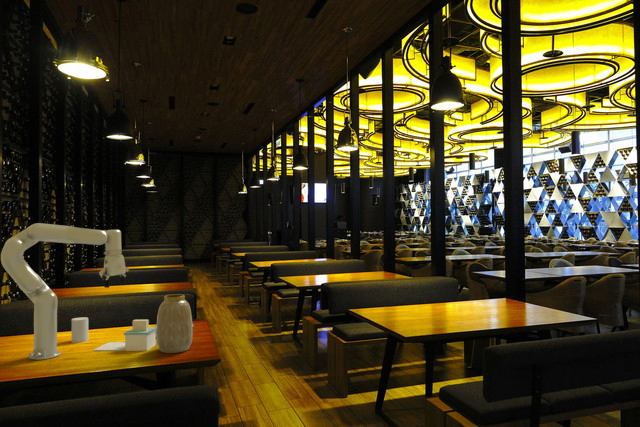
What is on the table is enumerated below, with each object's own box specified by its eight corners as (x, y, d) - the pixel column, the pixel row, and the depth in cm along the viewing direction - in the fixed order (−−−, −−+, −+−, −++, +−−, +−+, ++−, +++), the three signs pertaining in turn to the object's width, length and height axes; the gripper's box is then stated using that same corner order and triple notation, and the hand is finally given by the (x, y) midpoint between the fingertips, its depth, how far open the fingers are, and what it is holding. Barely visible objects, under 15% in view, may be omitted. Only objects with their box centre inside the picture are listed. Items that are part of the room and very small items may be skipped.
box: (146, 350, 230) (146, 334, 230) (125, 350, 230) (125, 334, 230) (155, 344, 241) (155, 329, 241) (134, 345, 241) (134, 329, 241)
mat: (123, 350, 230) (123, 349, 230) (93, 350, 231) (93, 349, 231) (136, 343, 245) (136, 342, 245) (108, 343, 246) (108, 342, 246)
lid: (147, 337, 230) (147, 322, 230) (123, 337, 230) (123, 322, 230) (156, 331, 242) (156, 317, 242) (134, 331, 242) (134, 317, 242)
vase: (199, 346, 237) (198, 293, 238) (180, 355, 220) (180, 298, 221) (169, 344, 242) (169, 292, 242) (149, 353, 225) (148, 297, 226)
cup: (91, 339, 256) (91, 317, 256) (82, 342, 247) (82, 320, 248) (77, 339, 256) (77, 317, 257) (68, 342, 248) (68, 320, 249)
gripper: (104, 254, 232) (105, 289, 232) (132, 251, 247) (133, 284, 247) (94, 254, 235) (95, 288, 235) (122, 251, 250) (124, 283, 250)
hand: (114, 286), depth 241 cm, fingers open, 9 cm apart
